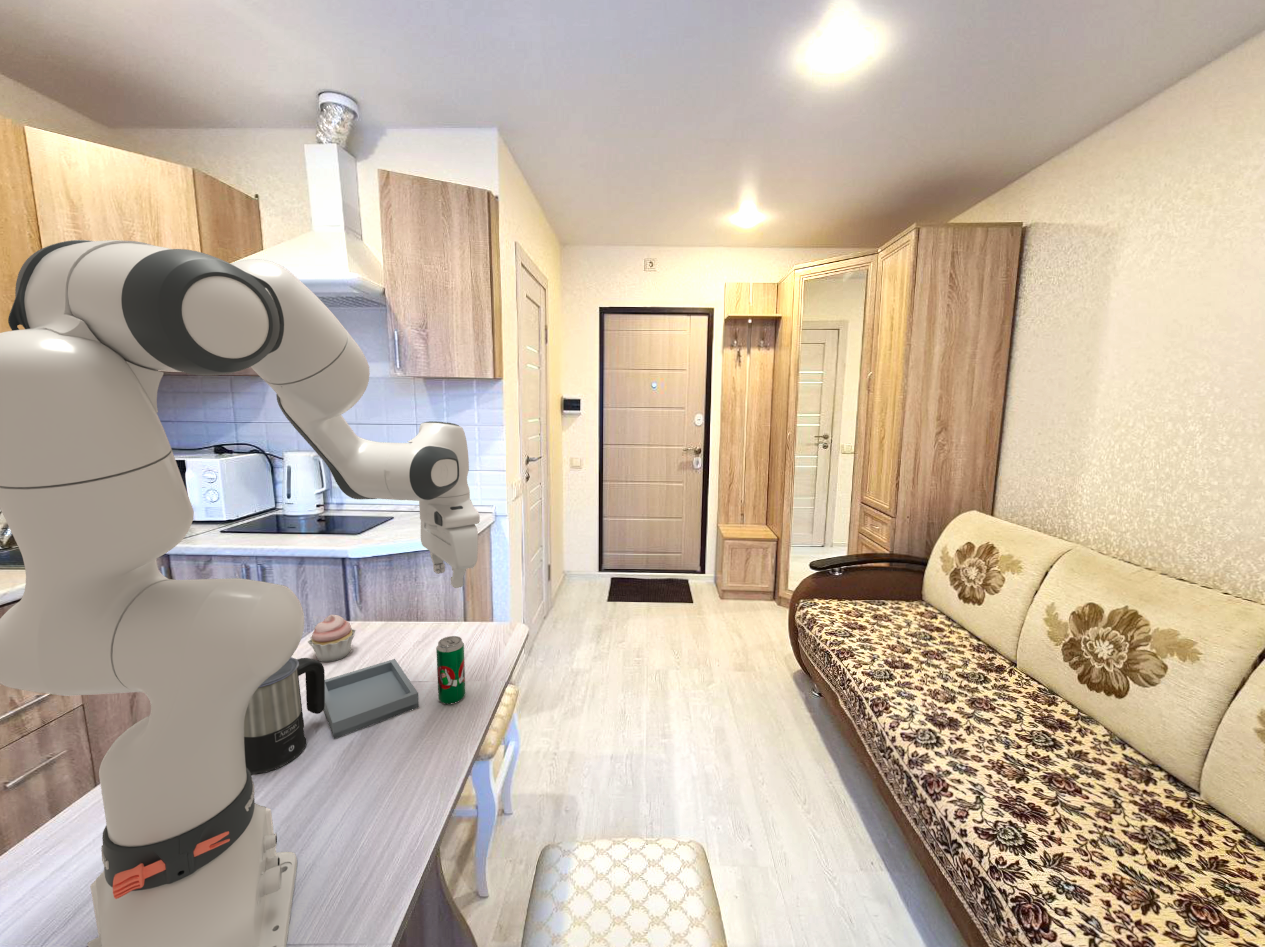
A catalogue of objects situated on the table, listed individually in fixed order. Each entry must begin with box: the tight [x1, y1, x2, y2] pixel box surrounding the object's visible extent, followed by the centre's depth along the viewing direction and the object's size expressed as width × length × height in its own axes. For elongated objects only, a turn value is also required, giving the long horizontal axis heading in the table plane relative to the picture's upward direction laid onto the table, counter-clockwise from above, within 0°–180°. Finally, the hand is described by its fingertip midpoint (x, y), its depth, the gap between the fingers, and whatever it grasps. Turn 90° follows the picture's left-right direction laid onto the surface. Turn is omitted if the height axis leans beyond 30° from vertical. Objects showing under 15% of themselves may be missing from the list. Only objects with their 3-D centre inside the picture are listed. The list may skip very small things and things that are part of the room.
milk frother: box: [244, 656, 326, 775], centre depth 80 cm, size 14×16×15 cm
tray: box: [323, 658, 420, 740], centre depth 93 cm, size 16×14×3 cm
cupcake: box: [307, 614, 357, 663], centre depth 109 cm, size 9×9×10 cm
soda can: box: [435, 635, 466, 705], centre depth 94 cm, size 5×5×12 cm
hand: (447, 579), depth 91 cm, fingers open, 8 cm apart
